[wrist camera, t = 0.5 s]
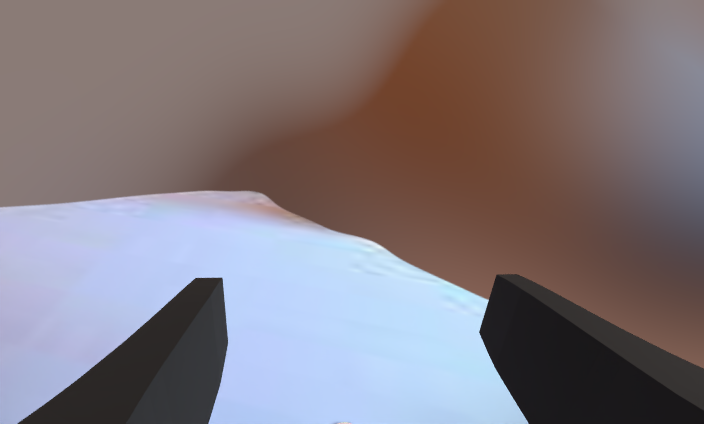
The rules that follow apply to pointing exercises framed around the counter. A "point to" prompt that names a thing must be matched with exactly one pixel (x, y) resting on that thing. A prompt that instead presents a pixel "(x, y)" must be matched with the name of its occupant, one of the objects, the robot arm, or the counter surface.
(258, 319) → the counter surface
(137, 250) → the counter surface
